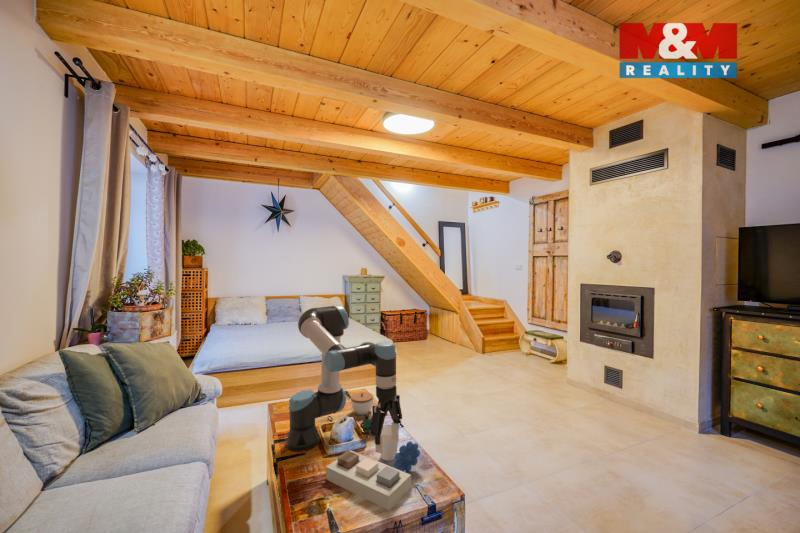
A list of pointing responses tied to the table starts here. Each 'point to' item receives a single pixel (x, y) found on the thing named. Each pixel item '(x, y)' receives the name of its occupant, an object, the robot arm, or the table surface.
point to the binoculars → (366, 425)
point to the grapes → (407, 457)
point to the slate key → (388, 477)
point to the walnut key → (348, 460)
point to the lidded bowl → (362, 402)
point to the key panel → (369, 483)
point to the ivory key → (367, 468)
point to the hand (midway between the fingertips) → (387, 446)
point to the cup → (388, 444)
